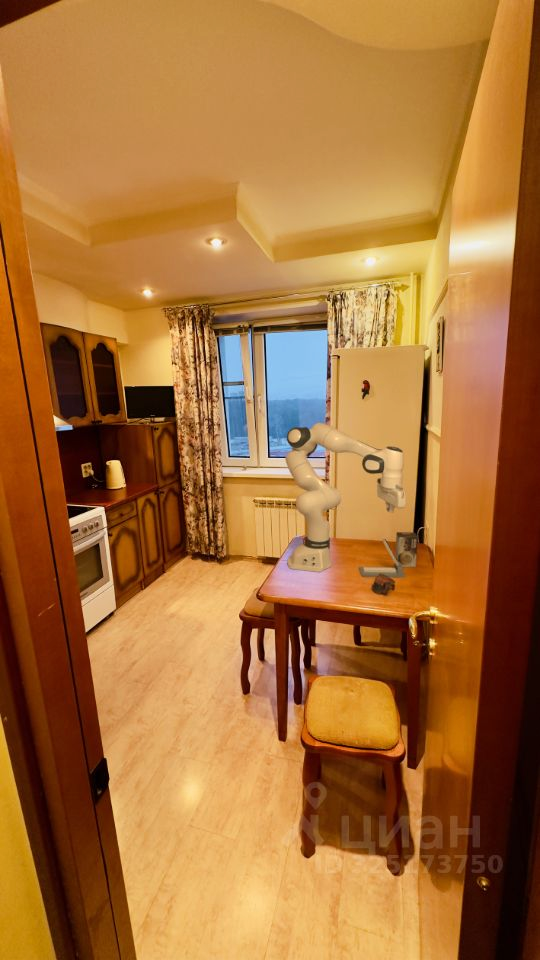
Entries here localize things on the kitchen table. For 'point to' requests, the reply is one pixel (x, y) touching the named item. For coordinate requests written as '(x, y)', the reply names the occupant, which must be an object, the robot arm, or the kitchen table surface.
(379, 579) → the pottery mug
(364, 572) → the base
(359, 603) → the kitchen table surface
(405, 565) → the coffee box
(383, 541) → the arm
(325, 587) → the kitchen table surface
